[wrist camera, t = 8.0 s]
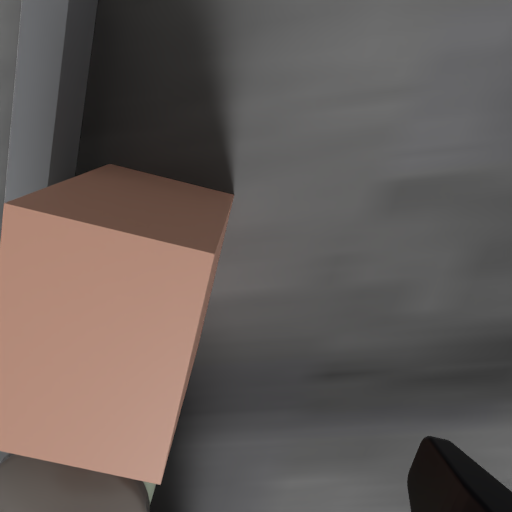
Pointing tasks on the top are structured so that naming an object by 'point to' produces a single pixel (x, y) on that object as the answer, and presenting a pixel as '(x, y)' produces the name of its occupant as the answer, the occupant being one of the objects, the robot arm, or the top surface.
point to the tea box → (104, 316)
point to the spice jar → (67, 488)
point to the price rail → (48, 94)
